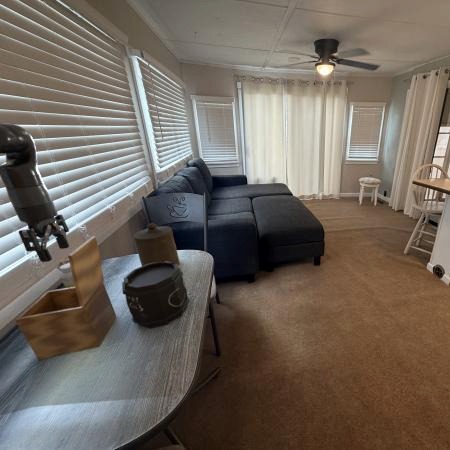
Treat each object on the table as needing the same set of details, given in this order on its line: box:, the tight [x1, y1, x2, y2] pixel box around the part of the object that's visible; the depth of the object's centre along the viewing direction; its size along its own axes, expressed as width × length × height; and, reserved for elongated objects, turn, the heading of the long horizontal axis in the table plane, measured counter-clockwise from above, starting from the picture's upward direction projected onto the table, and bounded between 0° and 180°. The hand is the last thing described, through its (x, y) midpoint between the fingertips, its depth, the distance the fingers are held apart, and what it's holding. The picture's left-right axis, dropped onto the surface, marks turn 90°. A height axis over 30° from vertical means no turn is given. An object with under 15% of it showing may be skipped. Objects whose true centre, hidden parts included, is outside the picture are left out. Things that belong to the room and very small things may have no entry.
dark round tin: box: [121, 261, 190, 329], centre depth 81 cm, size 18×18×16 cm
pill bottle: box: [59, 263, 75, 288], centre depth 94 cm, size 6×6×12 cm
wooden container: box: [133, 222, 181, 266], centre depth 107 cm, size 15×15×22 cm
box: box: [14, 282, 118, 361], centre depth 71 cm, size 15×13×14 cm
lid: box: [67, 235, 105, 307], centre depth 68 cm, size 16×13×1 cm
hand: (56, 254), depth 71 cm, fingers open, 8 cm apart
